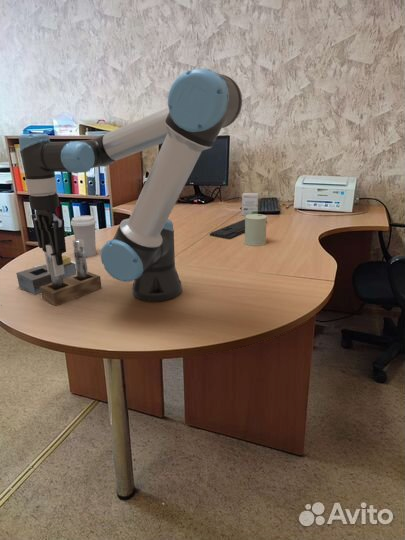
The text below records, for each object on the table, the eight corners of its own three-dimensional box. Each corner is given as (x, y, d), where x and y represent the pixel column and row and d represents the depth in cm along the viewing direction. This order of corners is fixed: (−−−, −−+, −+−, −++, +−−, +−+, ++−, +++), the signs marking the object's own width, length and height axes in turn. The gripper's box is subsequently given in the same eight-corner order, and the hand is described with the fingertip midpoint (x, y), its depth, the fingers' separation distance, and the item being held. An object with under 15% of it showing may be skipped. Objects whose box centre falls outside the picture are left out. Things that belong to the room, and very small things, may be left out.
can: (270, 242, 166) (271, 214, 162) (257, 247, 160) (258, 219, 155) (252, 238, 172) (253, 211, 168) (239, 243, 166) (240, 215, 161)
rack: (87, 282, 128) (86, 271, 127) (101, 287, 124) (100, 276, 122) (42, 299, 117) (39, 286, 115) (55, 305, 112) (53, 293, 111)
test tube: (91, 288, 123) (85, 240, 118) (83, 291, 121) (76, 242, 115) (85, 286, 125) (79, 238, 120) (77, 289, 123) (70, 240, 117)
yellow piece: (72, 274, 132) (70, 257, 130) (64, 277, 130) (61, 260, 128) (67, 272, 134) (64, 255, 132) (59, 274, 132) (56, 258, 129)
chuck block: (81, 278, 131) (79, 265, 129) (35, 295, 119) (32, 280, 117) (64, 272, 137) (62, 259, 135) (19, 287, 125) (16, 273, 123)
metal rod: (67, 294, 117) (59, 243, 111) (57, 298, 115) (49, 246, 109) (61, 292, 119) (53, 242, 113) (52, 295, 117) (43, 244, 111)
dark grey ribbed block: (230, 240, 171) (230, 236, 171) (209, 236, 178) (209, 232, 177) (267, 223, 198) (267, 219, 197) (248, 220, 204) (248, 217, 203)
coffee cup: (69, 257, 152) (64, 219, 147) (84, 249, 161) (80, 214, 155) (90, 259, 149) (85, 221, 144) (104, 252, 157) (100, 215, 152)
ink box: (257, 214, 215) (258, 192, 211) (257, 216, 211) (258, 194, 207) (242, 213, 217) (242, 192, 212) (241, 215, 212) (242, 194, 208)
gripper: (72, 194, 104) (83, 275, 112) (40, 188, 113) (53, 264, 122) (46, 198, 98) (60, 284, 107) (15, 192, 108) (30, 271, 116)
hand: (56, 273), depth 114 cm, fingers closed on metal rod, 3 cm apart
